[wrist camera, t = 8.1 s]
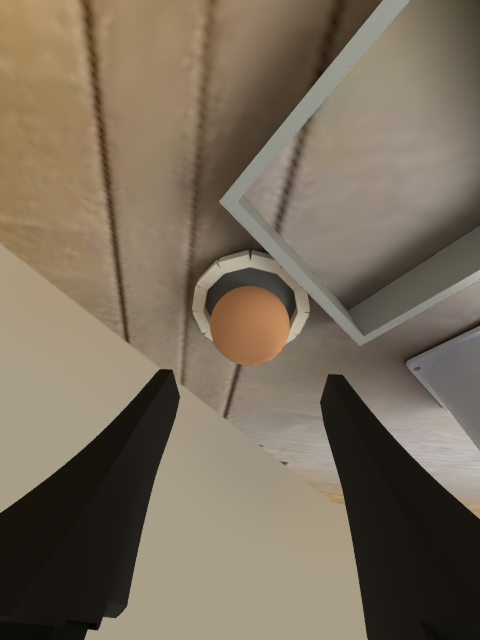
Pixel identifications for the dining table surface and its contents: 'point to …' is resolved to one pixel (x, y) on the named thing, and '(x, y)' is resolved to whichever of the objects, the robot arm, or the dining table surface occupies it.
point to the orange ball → (249, 325)
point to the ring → (249, 272)
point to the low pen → (360, 321)
